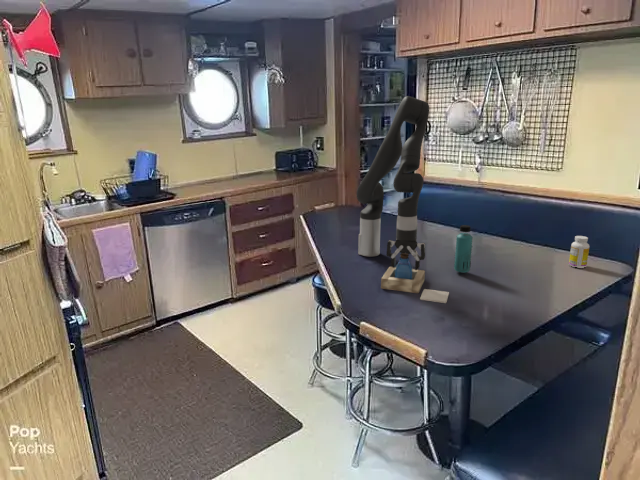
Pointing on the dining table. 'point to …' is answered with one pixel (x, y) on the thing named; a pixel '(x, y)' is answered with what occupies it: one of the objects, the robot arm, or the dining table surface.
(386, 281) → the pocket block
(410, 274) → the perfume bottle
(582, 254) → the supplement bottle
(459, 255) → the beverage bottle
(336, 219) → the dining table surface
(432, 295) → the coaster
